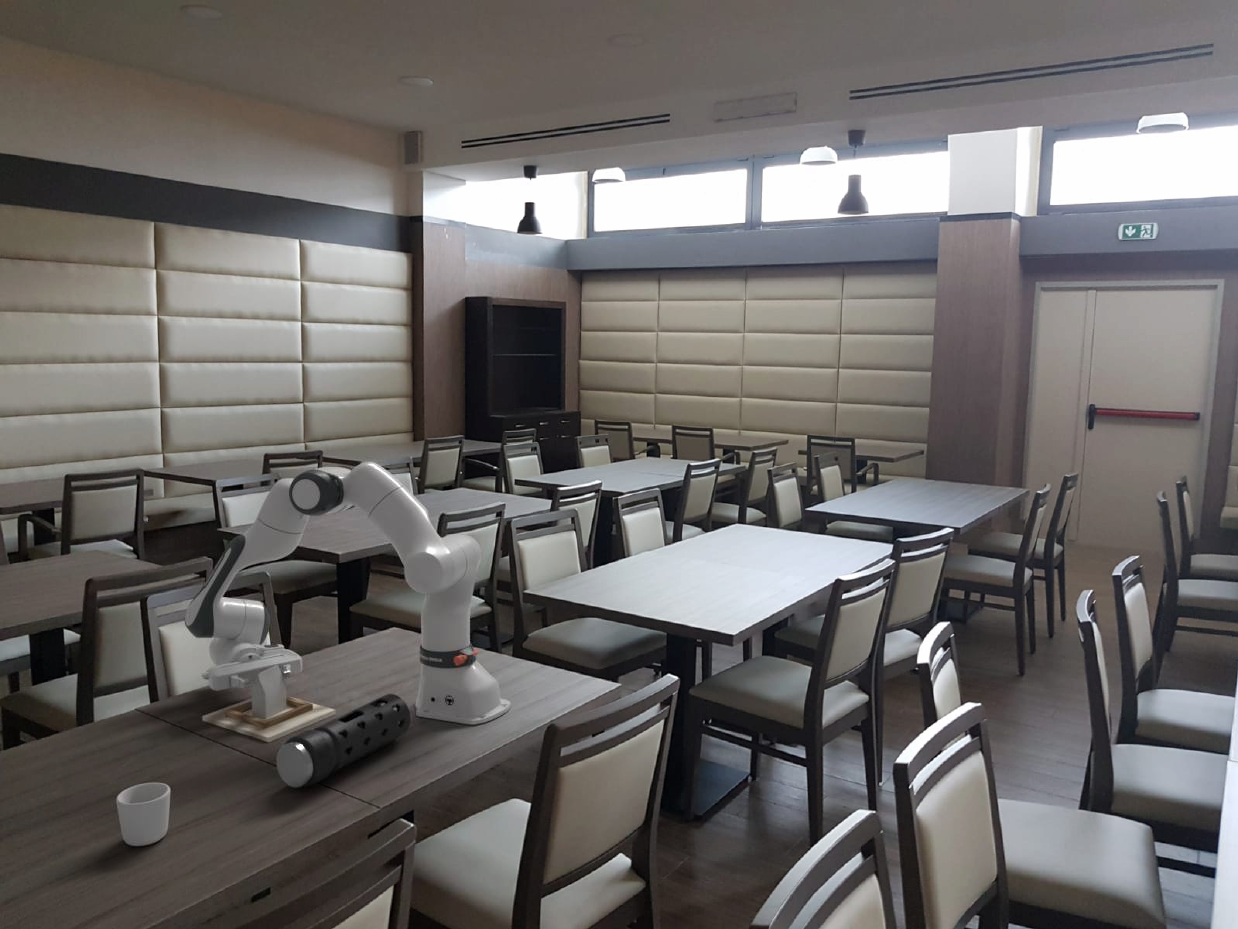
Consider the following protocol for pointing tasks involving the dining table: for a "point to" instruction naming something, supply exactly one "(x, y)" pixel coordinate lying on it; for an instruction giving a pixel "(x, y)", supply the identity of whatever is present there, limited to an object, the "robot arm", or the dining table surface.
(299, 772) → the muzzle brake
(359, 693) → the dining table surface
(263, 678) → the tea bag
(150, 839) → the cup
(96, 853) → the dining table surface
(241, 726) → the holder
